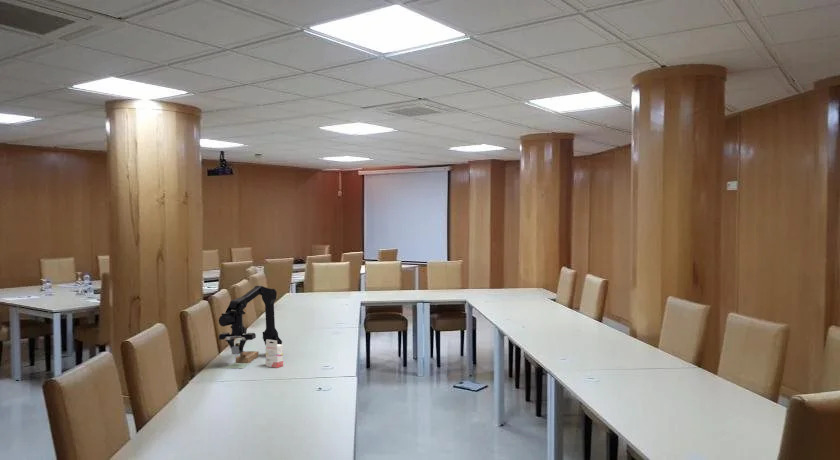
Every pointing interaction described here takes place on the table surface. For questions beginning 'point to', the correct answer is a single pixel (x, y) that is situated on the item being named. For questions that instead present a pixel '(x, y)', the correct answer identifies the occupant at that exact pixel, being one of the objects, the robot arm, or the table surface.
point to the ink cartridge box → (274, 354)
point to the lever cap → (236, 349)
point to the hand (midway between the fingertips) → (237, 351)
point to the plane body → (247, 356)
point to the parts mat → (237, 365)
